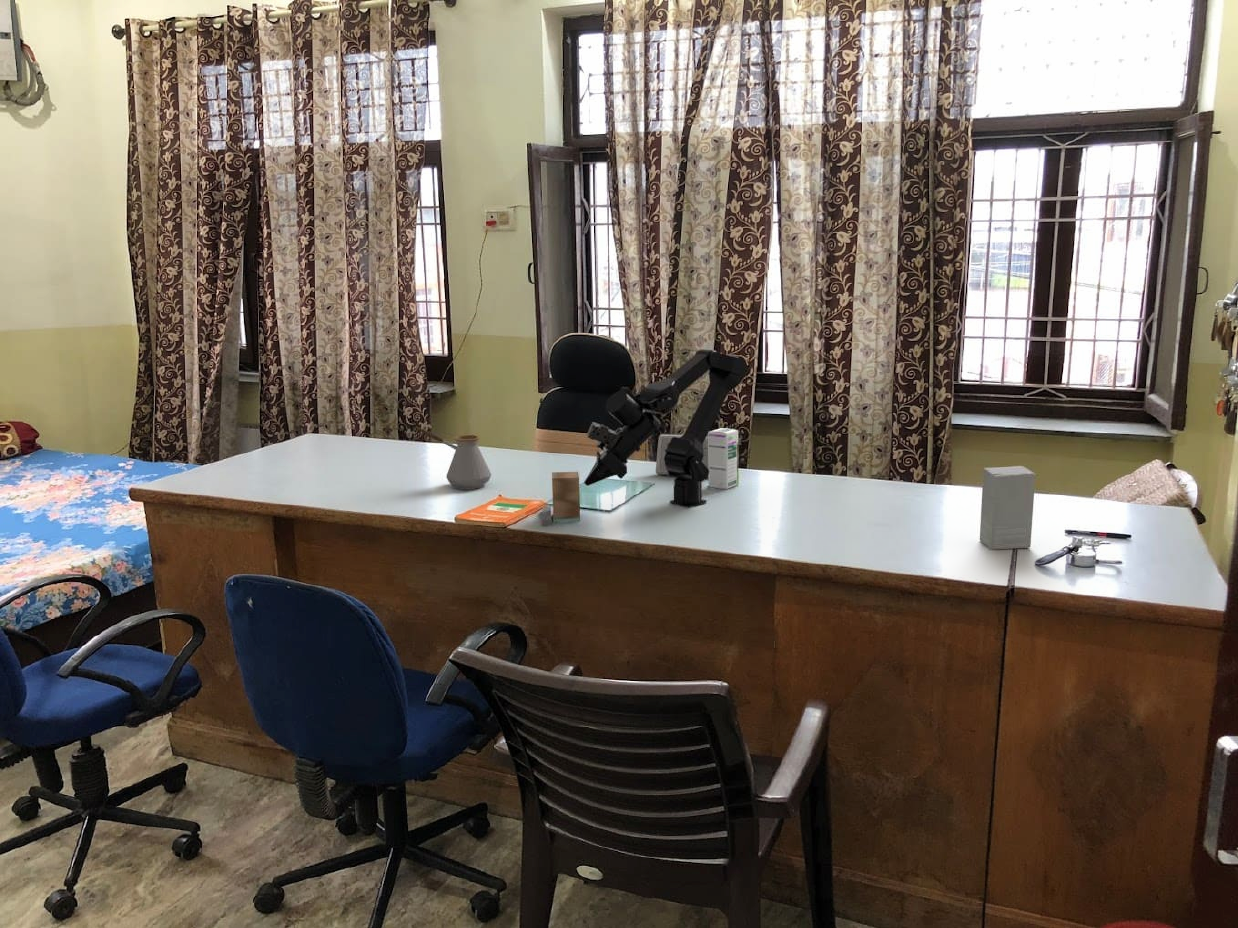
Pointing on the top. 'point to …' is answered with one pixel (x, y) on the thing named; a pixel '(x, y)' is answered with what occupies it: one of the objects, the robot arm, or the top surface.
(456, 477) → the coffee pot
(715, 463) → the syrup box
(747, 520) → the top surface
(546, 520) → the grey thin bar
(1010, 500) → the skincare box
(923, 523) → the top surface
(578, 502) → the walnut block
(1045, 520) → the top surface
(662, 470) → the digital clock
